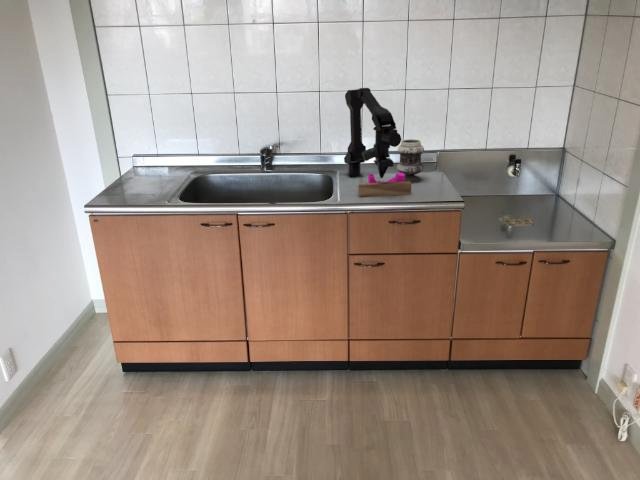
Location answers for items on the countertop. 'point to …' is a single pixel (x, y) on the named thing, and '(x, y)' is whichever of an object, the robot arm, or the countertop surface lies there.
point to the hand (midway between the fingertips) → (381, 177)
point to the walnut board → (384, 189)
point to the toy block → (398, 178)
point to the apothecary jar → (410, 159)
